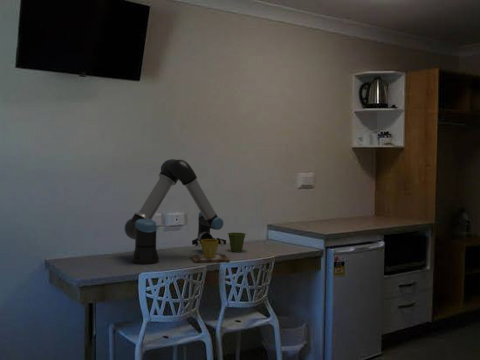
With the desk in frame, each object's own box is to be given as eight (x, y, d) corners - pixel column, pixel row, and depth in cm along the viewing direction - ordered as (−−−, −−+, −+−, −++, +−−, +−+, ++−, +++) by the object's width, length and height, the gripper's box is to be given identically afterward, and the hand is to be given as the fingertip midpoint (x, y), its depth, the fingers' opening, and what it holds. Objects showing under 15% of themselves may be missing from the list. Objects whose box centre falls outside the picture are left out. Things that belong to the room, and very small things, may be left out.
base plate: (194, 263, 286) (194, 260, 286) (191, 257, 302) (191, 254, 302) (229, 262, 291) (229, 259, 290) (224, 256, 306) (224, 254, 306)
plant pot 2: (249, 251, 327) (249, 233, 326) (236, 253, 319) (236, 235, 318) (236, 248, 335) (237, 231, 335) (223, 250, 327) (223, 233, 327)
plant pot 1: (196, 257, 294) (197, 240, 294) (206, 254, 303) (206, 238, 303) (212, 259, 289) (212, 242, 289) (221, 256, 298) (221, 240, 298)
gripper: (226, 244, 316) (232, 250, 295) (185, 245, 311) (189, 251, 290) (226, 232, 316) (232, 237, 295) (186, 232, 311) (189, 238, 290)
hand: (211, 244), depth 293 cm, fingers open, 13 cm apart
